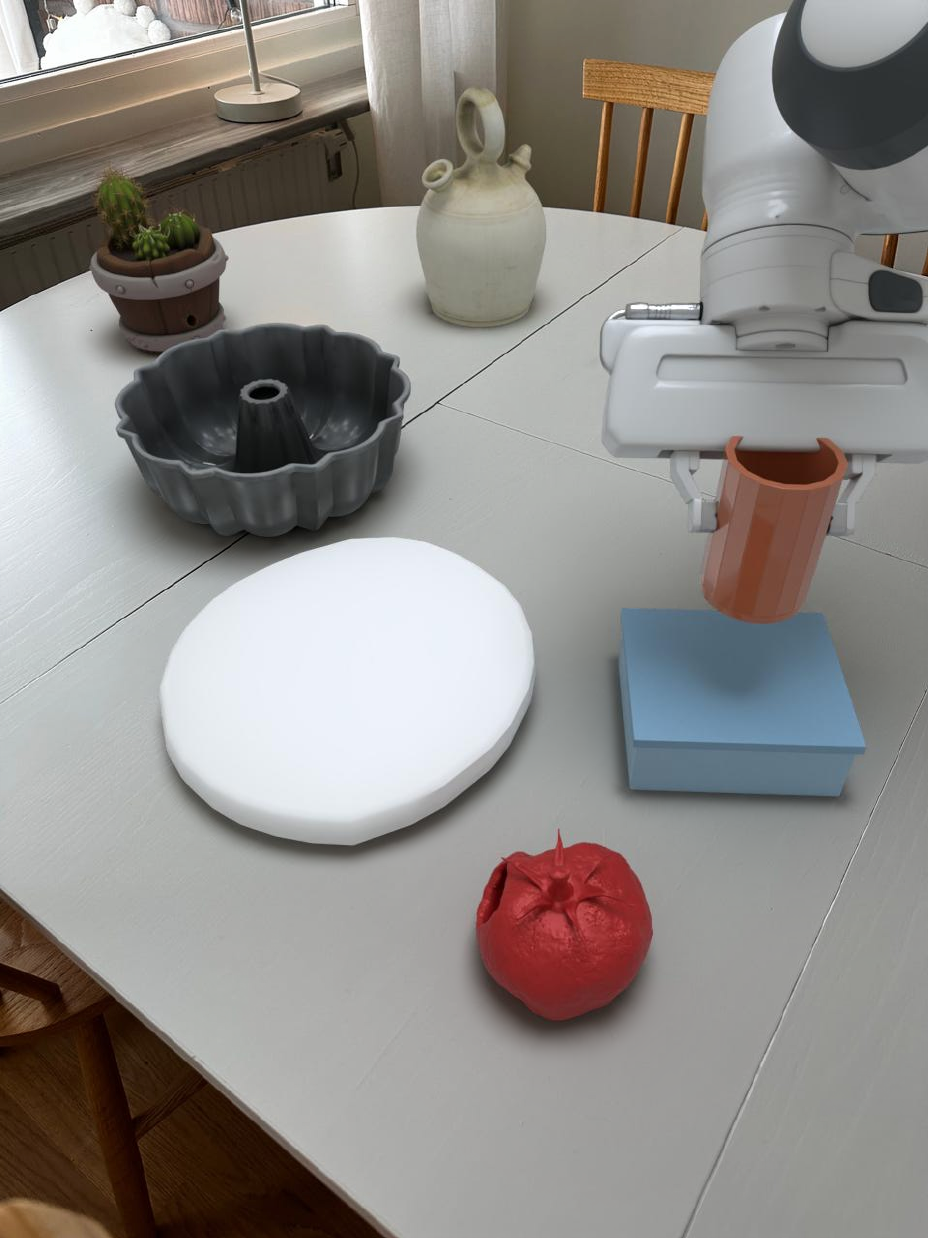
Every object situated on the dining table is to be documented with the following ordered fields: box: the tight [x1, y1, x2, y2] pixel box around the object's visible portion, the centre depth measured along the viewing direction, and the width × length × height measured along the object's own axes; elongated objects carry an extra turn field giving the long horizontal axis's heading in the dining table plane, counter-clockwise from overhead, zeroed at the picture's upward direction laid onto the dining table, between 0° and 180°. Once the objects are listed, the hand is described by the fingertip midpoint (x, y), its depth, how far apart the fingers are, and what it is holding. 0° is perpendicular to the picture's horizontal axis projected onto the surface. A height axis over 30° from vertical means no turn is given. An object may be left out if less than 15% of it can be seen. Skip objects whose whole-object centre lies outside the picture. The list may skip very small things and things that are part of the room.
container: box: [618, 607, 867, 797], centre depth 69 cm, size 15×13×6 cm
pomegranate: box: [475, 828, 654, 1021], centre depth 55 cm, size 10×10×9 cm
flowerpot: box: [88, 160, 229, 356], centre depth 110 cm, size 14×15×20 cm
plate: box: [158, 536, 537, 846], centre depth 71 cm, size 28×6×27 cm
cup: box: [699, 436, 848, 624], centre depth 59 cm, size 7×7×10 cm
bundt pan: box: [114, 322, 412, 538], centre depth 91 cm, size 26×26×10 cm
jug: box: [415, 85, 547, 328], centre depth 113 cm, size 15×16×25 cm
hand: (770, 533), depth 58 cm, fingers closed on cup, 6 cm apart
